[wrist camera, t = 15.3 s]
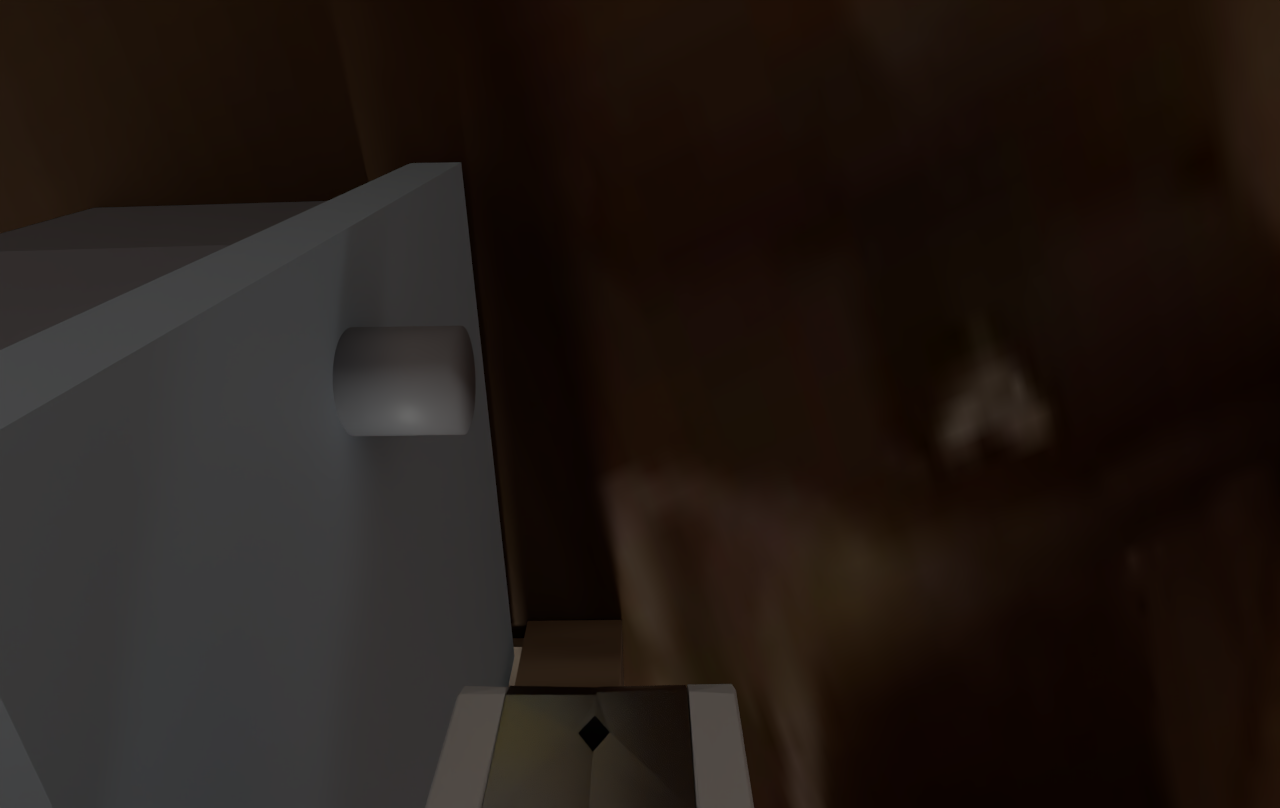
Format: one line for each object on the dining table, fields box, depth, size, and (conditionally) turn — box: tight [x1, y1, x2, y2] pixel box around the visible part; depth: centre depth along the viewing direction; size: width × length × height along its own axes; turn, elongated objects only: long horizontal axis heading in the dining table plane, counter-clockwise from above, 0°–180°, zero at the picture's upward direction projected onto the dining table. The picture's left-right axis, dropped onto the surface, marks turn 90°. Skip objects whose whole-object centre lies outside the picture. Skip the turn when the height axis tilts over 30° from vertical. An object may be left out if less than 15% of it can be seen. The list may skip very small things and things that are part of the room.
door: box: [0, 162, 515, 808], centre depth 15 cm, size 3×16×15 cm, turn 1°
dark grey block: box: [0, 201, 326, 350], centre depth 18 cm, size 4×7×5 cm, turn 92°
